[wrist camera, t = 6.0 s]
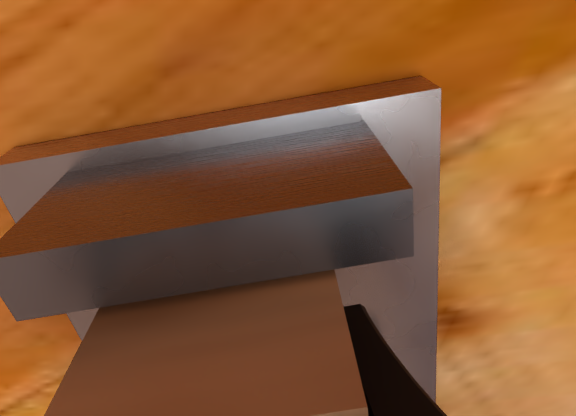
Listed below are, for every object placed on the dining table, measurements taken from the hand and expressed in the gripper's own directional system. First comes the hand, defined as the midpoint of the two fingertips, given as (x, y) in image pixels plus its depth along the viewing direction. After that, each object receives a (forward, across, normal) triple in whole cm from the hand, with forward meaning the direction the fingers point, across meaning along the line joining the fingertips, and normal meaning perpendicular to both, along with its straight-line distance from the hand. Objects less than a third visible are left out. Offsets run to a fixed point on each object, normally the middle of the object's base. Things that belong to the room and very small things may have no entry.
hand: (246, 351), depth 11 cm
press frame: (+4, 0, +4) cm, 6 cm away
